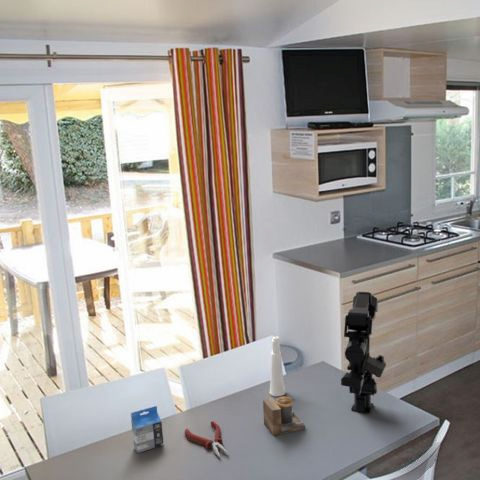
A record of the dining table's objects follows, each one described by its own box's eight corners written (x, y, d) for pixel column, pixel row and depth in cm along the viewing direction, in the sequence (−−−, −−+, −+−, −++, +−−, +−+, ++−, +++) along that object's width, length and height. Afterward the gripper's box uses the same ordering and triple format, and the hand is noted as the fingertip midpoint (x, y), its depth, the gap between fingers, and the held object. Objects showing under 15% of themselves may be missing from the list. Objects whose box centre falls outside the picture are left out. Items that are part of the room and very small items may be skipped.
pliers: (207, 466, 174) (207, 458, 174) (183, 435, 192) (182, 428, 191) (241, 455, 179) (241, 447, 179) (214, 425, 197) (214, 418, 196)
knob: (288, 416, 197) (287, 394, 195) (296, 425, 191) (295, 402, 190) (273, 419, 195) (273, 398, 193) (281, 428, 190) (280, 406, 188)
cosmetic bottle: (266, 392, 217) (264, 337, 213) (278, 387, 221) (276, 333, 216) (276, 398, 213) (274, 341, 208) (288, 393, 216) (287, 337, 211)
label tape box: (137, 453, 182) (134, 418, 179) (133, 447, 185) (130, 412, 182) (164, 445, 185) (161, 410, 183) (159, 439, 189) (156, 405, 186)
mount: (295, 416, 199) (294, 392, 197) (305, 428, 192) (304, 403, 190) (263, 424, 195) (263, 399, 193) (273, 436, 188) (272, 410, 186)
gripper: (376, 365, 172) (376, 413, 176) (389, 342, 189) (389, 386, 192) (340, 360, 177) (340, 407, 180) (355, 338, 193) (356, 381, 197)
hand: (358, 395), depth 187 cm, fingers closed
